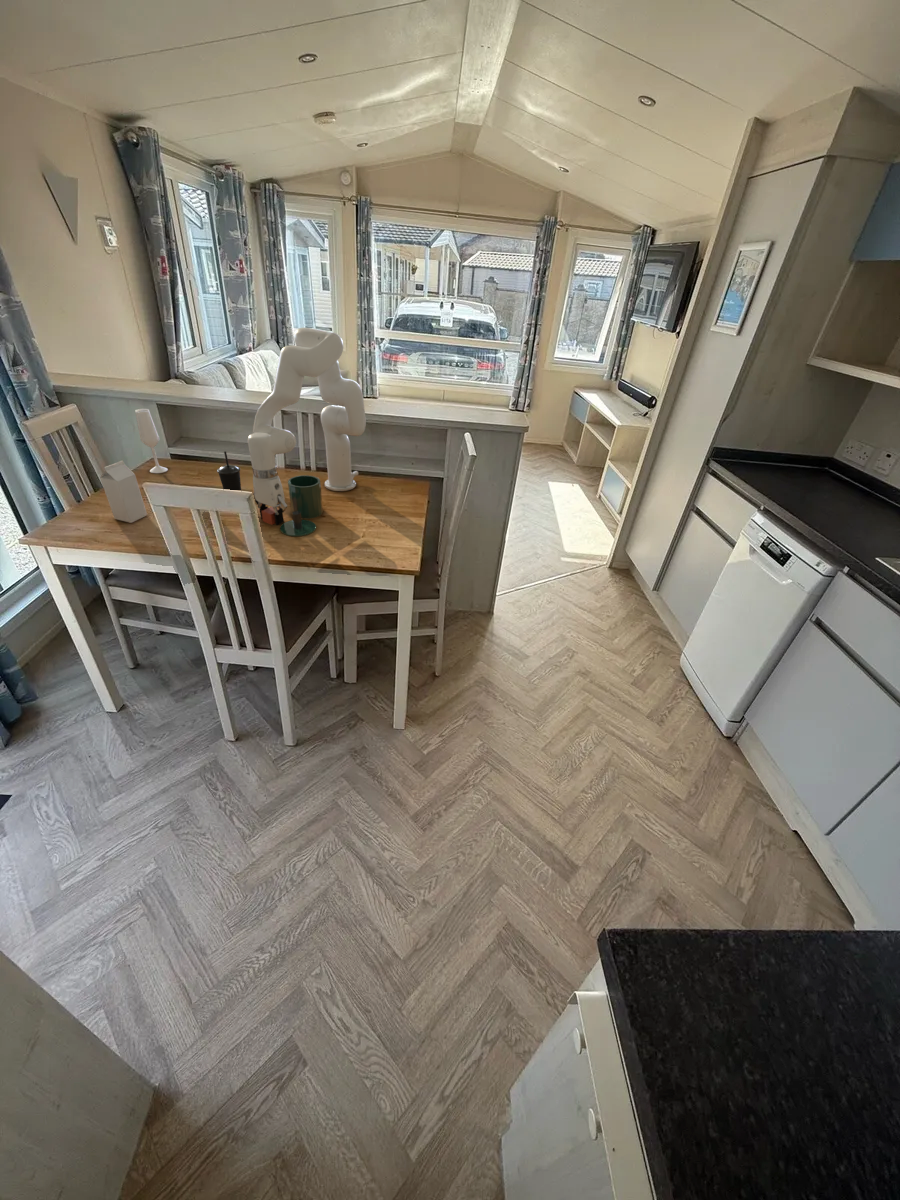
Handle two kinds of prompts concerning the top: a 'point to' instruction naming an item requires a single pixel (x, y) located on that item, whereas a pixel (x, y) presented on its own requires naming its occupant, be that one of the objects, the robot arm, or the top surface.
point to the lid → (297, 526)
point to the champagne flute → (149, 435)
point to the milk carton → (123, 492)
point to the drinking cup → (229, 476)
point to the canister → (305, 496)
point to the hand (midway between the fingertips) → (272, 520)
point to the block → (269, 515)
